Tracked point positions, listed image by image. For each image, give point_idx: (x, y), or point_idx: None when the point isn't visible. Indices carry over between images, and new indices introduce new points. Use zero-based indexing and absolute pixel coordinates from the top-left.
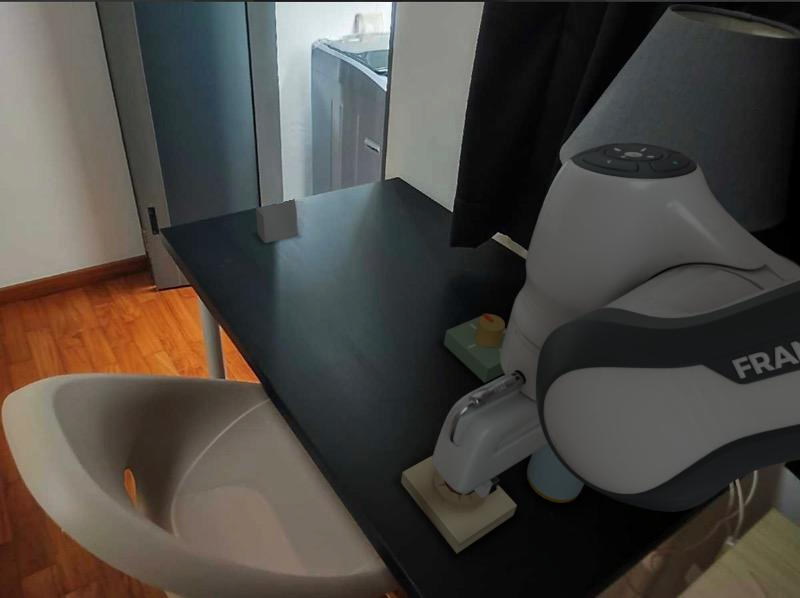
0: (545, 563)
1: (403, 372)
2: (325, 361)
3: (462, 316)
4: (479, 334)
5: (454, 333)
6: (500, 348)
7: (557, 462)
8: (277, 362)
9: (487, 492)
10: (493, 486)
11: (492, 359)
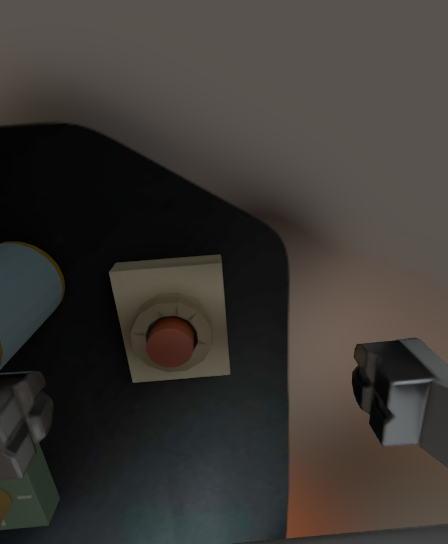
0: (114, 185)
1: (137, 479)
2: (220, 516)
3: None
4: (2, 516)
5: (38, 518)
6: None
7: (10, 304)
8: (270, 529)
9: (428, 355)
10: (410, 368)
11: None
